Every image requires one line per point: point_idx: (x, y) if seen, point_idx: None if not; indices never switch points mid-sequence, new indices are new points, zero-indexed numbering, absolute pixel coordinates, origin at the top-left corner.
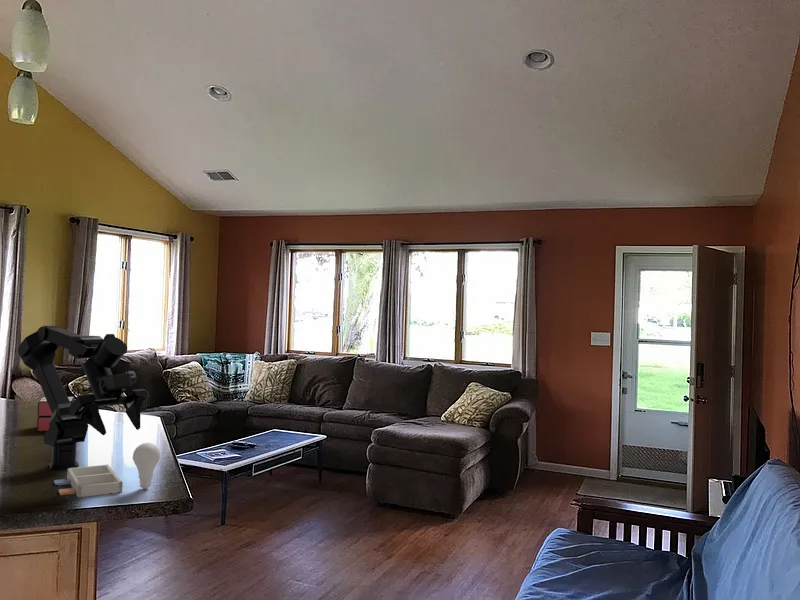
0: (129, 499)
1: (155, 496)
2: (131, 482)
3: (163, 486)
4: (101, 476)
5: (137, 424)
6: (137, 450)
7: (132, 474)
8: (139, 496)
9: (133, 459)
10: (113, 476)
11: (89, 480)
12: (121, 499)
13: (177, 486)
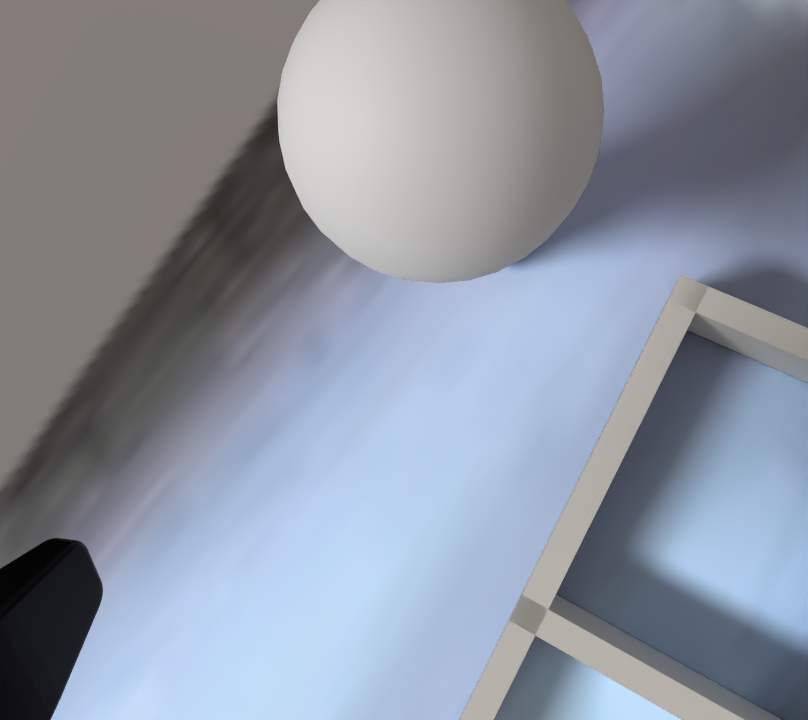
0: (757, 88)
1: None
2: (427, 483)
3: None
4: (642, 656)
5: (34, 604)
6: (571, 82)
7: (260, 684)
8: (650, 102)
9: (585, 187)
10: (578, 546)
11: (742, 710)
12: (801, 132)
13: None
